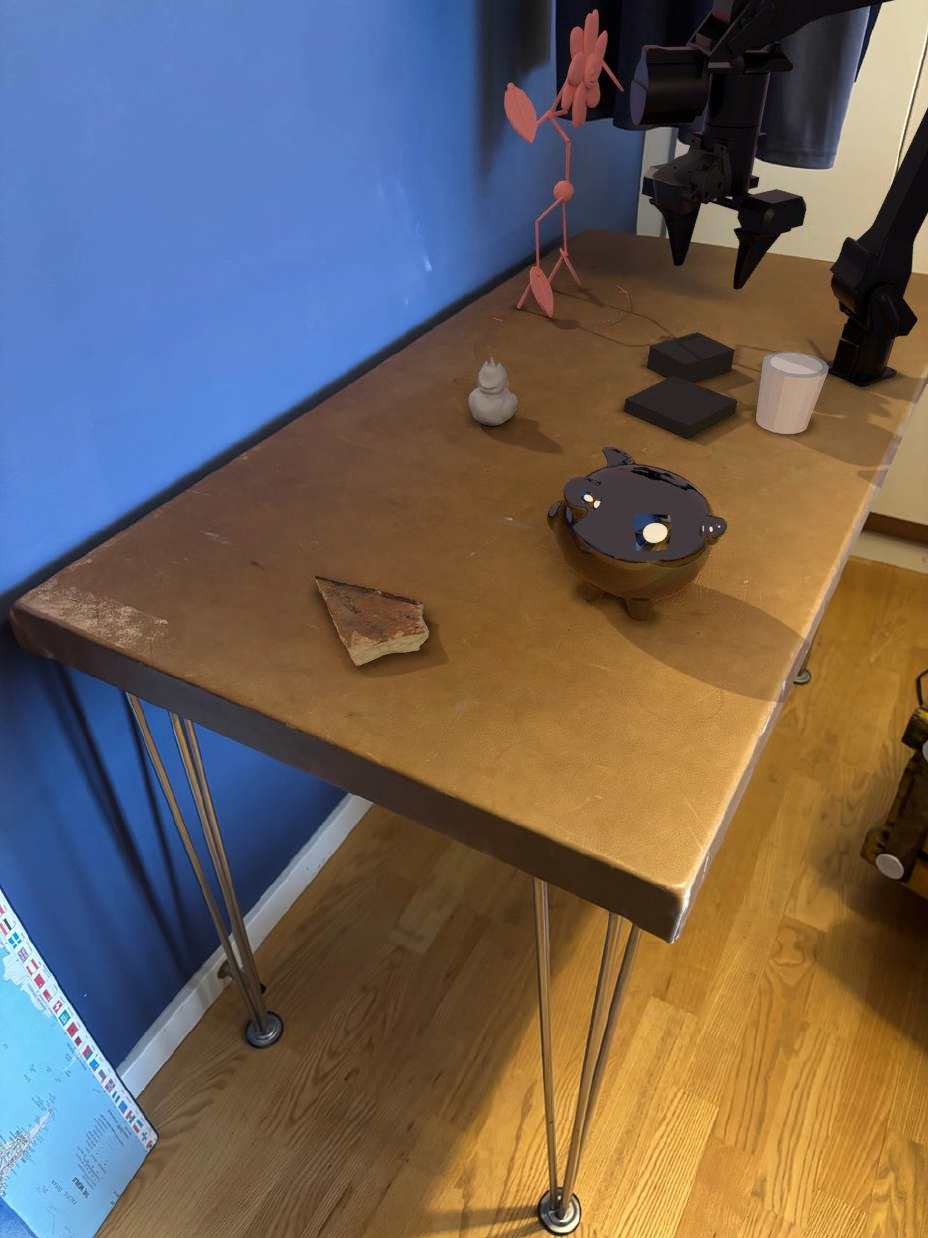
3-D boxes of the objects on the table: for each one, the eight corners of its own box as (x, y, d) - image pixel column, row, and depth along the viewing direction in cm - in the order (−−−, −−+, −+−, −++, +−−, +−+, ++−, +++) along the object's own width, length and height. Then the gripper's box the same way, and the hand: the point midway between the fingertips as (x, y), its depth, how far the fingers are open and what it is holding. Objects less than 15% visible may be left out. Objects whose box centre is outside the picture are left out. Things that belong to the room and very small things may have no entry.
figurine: (484, 327, 123) (489, 20, 101) (562, 270, 141) (581, -3, 118) (589, 349, 118) (618, 29, 95) (657, 287, 135) (695, 4, 113)
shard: (316, 589, 79) (313, 572, 78) (400, 570, 81) (399, 554, 80) (349, 669, 71) (347, 651, 70) (441, 646, 73) (440, 629, 72)
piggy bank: (575, 532, 86) (585, 421, 78) (729, 583, 79) (756, 468, 72) (516, 594, 78) (521, 478, 71) (681, 656, 72) (705, 536, 65)
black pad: (693, 352, 117) (697, 331, 115) (730, 371, 113) (735, 349, 111) (646, 367, 114) (649, 345, 112) (682, 386, 109) (686, 364, 108)
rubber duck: (460, 428, 101) (459, 359, 96) (481, 403, 106) (482, 336, 101) (505, 437, 100) (508, 368, 95) (525, 411, 104) (528, 344, 99)
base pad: (671, 387, 109) (673, 375, 108) (735, 413, 104) (738, 400, 103) (623, 411, 105) (625, 398, 103) (687, 439, 99) (689, 425, 98)
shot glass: (815, 439, 99) (832, 379, 95) (751, 433, 100) (764, 373, 96) (810, 411, 105) (826, 352, 100) (749, 405, 106) (761, 347, 101)
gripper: (611, 116, 95) (598, 267, 105) (745, 151, 83) (716, 318, 93) (689, 103, 100) (669, 249, 110) (826, 135, 88) (790, 295, 98)
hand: (707, 276), depth 103 cm, fingers open, 9 cm apart
